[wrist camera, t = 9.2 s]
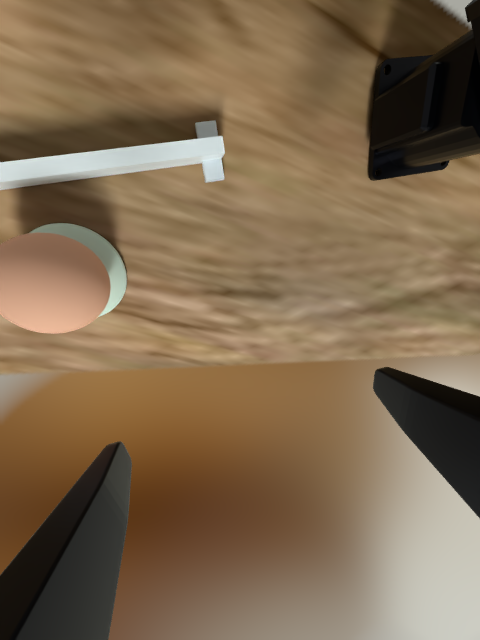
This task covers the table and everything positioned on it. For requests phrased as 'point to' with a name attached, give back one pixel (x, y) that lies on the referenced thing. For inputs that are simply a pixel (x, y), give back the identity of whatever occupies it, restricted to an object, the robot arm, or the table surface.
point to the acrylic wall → (120, 161)
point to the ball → (51, 283)
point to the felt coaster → (102, 250)
